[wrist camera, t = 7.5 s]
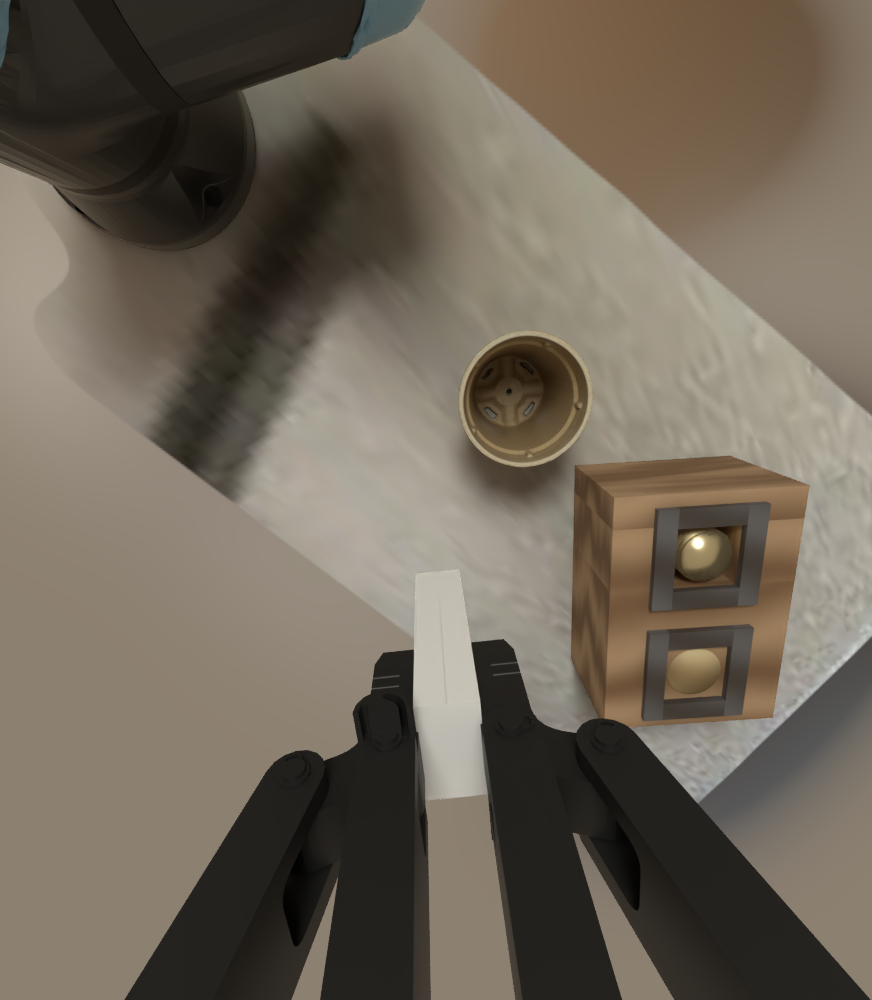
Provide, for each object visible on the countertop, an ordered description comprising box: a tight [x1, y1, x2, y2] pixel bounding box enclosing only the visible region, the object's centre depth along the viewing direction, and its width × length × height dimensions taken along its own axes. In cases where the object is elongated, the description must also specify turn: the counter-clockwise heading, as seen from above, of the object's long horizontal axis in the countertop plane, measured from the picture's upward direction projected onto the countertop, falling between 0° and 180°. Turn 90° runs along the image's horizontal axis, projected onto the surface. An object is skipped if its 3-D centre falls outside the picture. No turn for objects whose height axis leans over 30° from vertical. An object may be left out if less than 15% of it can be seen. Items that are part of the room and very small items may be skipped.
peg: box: [675, 527, 733, 581], centre depth 42 cm, size 4×4×8 cm
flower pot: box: [459, 331, 593, 467], centre depth 40 cm, size 9×9×9 cm
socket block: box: [571, 456, 809, 727], centre depth 44 cm, size 20×14×11 cm
